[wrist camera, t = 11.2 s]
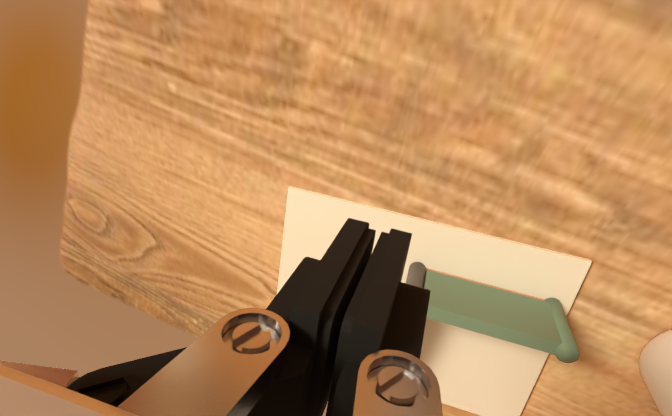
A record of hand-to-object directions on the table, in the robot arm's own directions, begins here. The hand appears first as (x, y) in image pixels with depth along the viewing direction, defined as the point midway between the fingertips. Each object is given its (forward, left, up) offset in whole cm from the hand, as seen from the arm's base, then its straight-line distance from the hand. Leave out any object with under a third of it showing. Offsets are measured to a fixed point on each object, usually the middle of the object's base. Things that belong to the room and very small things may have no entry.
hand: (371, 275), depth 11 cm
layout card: (-2, +20, -26) cm, 33 cm away
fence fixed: (-8, +15, -26) cm, 31 cm away
